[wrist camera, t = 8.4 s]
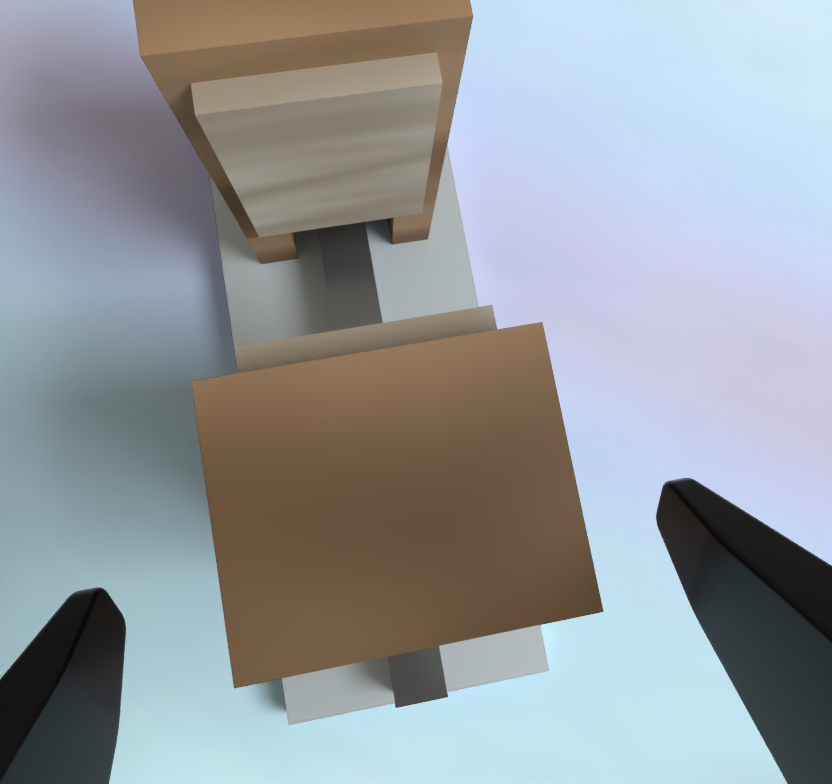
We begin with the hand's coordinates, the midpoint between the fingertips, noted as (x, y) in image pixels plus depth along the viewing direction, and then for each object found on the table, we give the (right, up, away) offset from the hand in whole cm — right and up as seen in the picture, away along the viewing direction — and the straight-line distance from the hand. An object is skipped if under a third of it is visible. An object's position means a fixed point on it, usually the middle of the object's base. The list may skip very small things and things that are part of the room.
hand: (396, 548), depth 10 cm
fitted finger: (-2, +9, +11) cm, 15 cm away
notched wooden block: (-1, 0, +9) cm, 9 cm away
